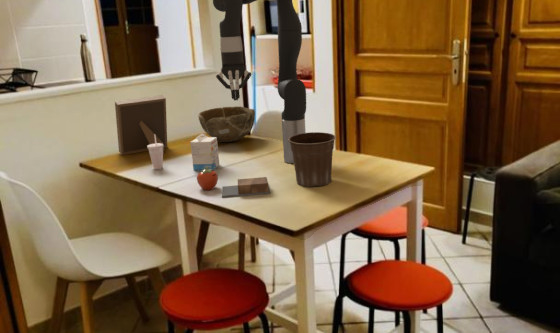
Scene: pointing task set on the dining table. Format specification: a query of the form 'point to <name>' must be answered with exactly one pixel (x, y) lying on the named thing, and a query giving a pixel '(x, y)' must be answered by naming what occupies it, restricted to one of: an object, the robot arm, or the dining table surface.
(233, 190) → the mat
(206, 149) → the milk carton
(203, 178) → the tomato
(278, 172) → the dining table surface
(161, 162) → the smoothie
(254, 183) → the walnut slab
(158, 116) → the photo frame
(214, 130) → the bowl
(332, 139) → the plant pot
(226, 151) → the dining table surface
